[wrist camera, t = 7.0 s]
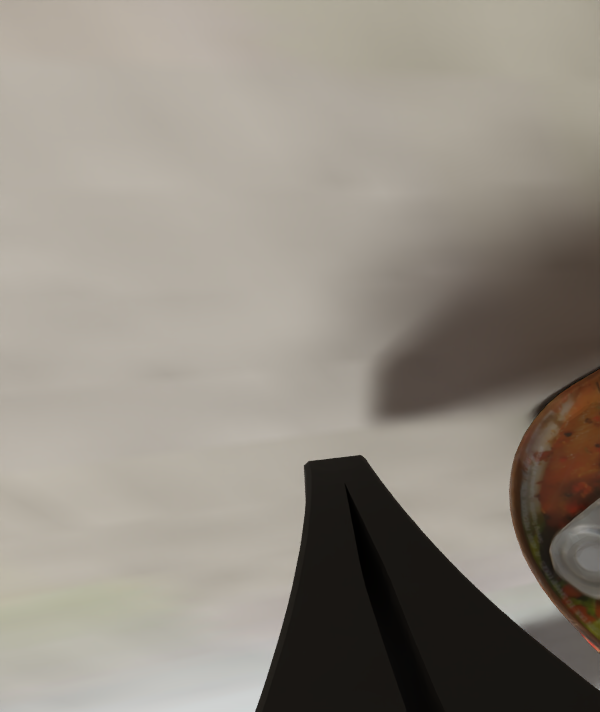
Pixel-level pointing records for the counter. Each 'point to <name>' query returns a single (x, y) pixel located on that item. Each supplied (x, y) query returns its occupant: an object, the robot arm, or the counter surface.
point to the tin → (563, 503)
